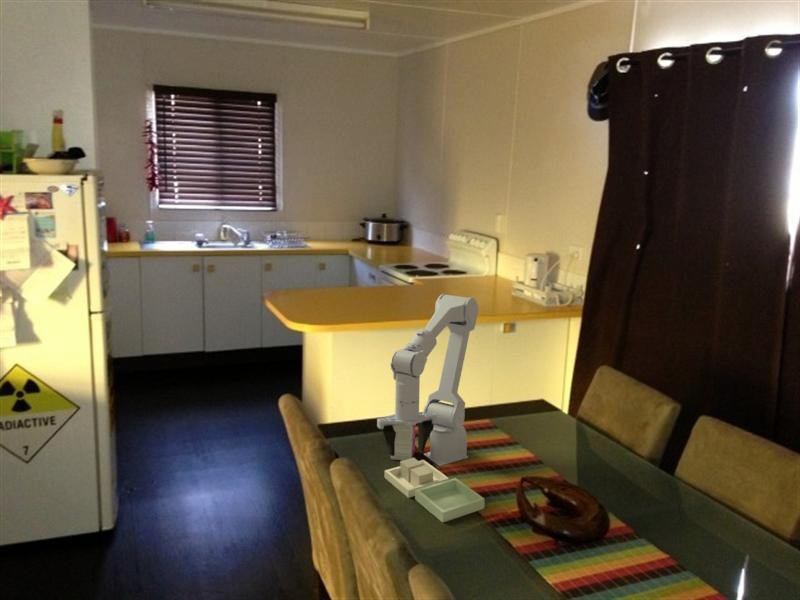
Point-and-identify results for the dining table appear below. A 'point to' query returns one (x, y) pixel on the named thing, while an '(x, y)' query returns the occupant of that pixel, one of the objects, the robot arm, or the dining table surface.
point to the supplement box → (404, 442)
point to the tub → (449, 499)
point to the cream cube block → (408, 468)
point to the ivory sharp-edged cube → (421, 476)
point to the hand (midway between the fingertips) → (406, 452)
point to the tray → (406, 487)
